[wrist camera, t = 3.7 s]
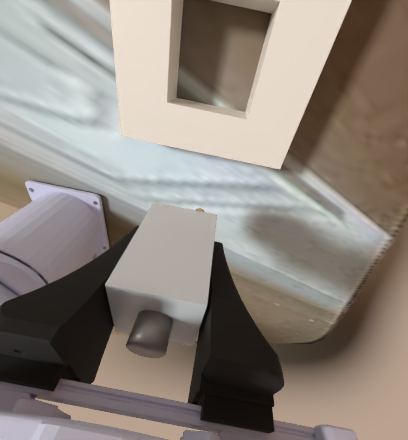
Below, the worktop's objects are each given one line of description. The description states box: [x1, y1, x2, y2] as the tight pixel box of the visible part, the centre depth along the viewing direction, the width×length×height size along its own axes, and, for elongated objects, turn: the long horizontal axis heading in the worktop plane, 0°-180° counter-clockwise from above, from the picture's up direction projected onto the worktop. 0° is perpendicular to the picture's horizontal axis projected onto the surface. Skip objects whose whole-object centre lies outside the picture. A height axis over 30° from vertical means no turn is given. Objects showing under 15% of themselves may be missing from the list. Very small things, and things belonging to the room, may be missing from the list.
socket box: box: [110, 0, 352, 169], centre depth 13 cm, size 11×12×3 cm
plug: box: [105, 202, 217, 358], centre depth 11 cm, size 4×4×8 cm
